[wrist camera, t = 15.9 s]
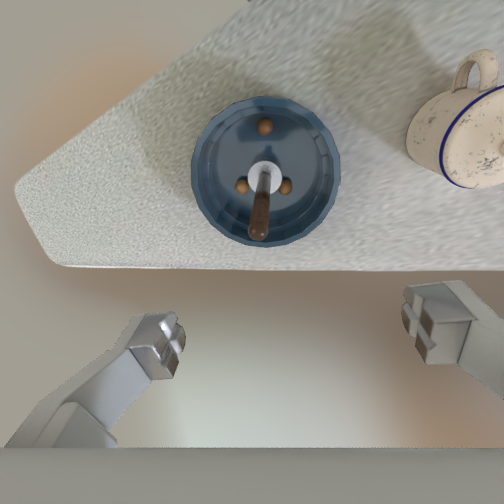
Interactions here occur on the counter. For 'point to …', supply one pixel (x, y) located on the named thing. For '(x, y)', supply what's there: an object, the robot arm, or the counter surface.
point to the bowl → (274, 145)
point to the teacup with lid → (463, 128)
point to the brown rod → (262, 193)
